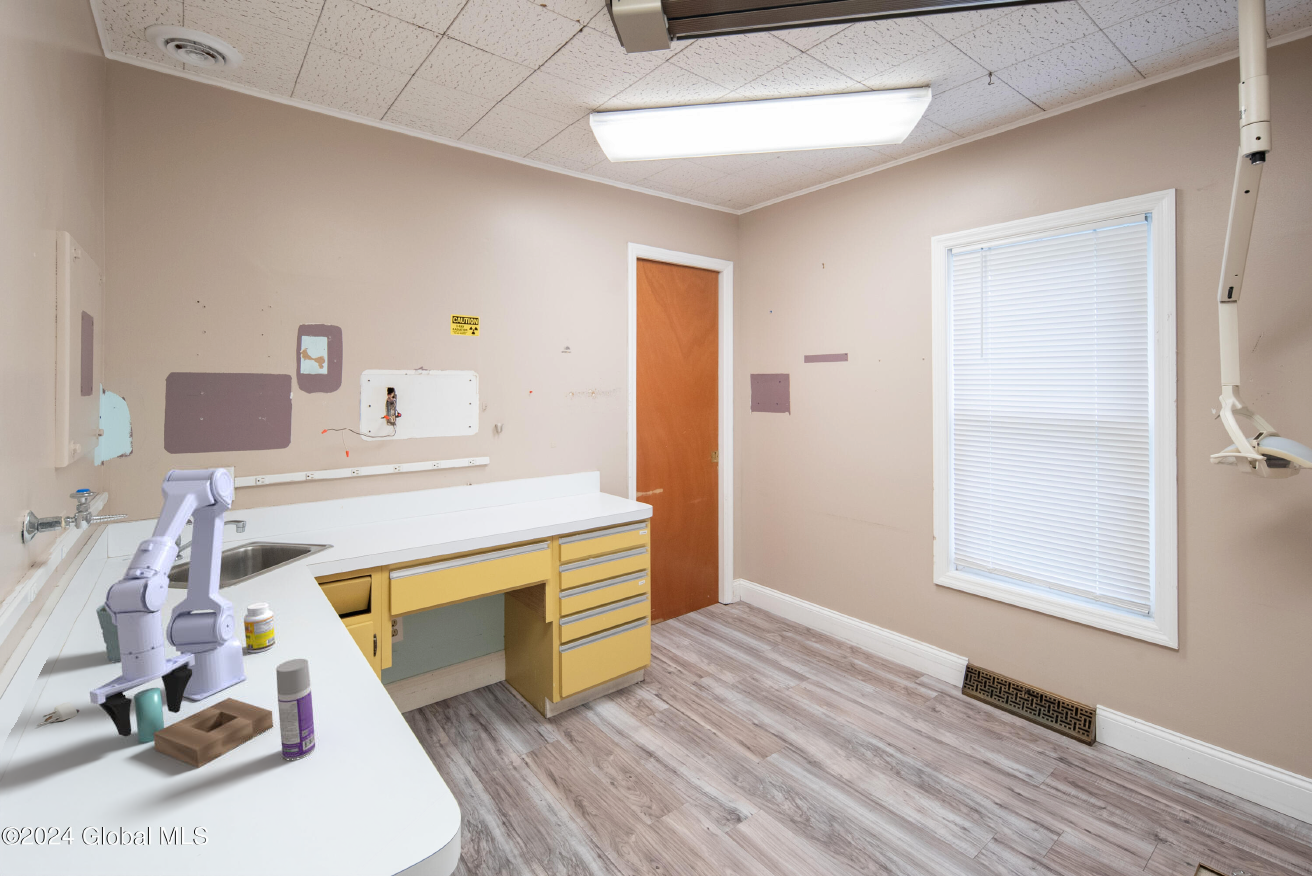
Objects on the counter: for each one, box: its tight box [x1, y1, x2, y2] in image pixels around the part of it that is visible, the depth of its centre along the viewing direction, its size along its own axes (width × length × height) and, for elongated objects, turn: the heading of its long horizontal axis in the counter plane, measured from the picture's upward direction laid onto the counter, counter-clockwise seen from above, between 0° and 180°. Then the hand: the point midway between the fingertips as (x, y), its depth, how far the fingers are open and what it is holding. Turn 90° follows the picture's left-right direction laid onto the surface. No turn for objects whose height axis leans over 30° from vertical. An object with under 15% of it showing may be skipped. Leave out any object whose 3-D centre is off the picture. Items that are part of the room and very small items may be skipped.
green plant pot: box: [96, 604, 121, 663], centre depth 136 cm, size 10×10×12 cm
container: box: [275, 658, 316, 761], centre depth 98 cm, size 5×5×15 cm
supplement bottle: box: [243, 602, 276, 654], centre depth 137 cm, size 6×6×10 cm
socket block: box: [153, 697, 274, 768], centre depth 103 cm, size 12×12×3 cm
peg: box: [133, 687, 165, 744], centre depth 103 cm, size 4×4×8 cm
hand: (150, 722), depth 104 cm, fingers open, 7 cm apart
